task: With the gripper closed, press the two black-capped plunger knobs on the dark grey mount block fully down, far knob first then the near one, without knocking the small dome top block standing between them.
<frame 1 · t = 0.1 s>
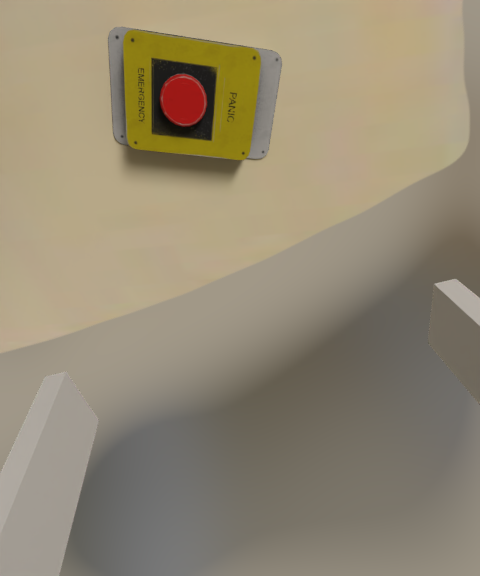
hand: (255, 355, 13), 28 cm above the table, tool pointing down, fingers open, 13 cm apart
emergency button: (195, 98, 34), on the table
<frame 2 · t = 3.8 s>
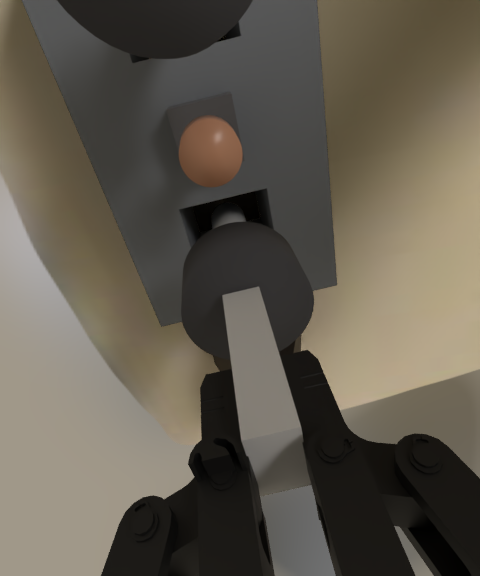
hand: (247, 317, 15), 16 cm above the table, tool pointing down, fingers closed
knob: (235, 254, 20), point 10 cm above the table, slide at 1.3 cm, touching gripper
phone stand: (255, 329, 36), on the table
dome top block: (206, 132, 18), point 8 cm above the table, touching mount
mount: (202, 112, 25), on the table
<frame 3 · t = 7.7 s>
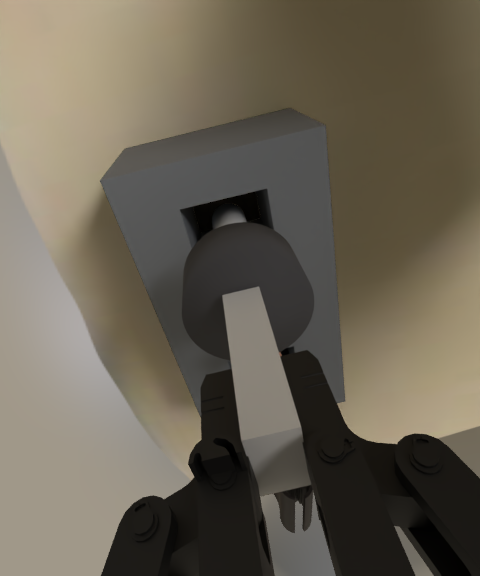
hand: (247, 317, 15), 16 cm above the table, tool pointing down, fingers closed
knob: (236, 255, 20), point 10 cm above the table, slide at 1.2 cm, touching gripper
phone stand: (273, 406, 42), on the table
mount: (239, 262, 31), on the table
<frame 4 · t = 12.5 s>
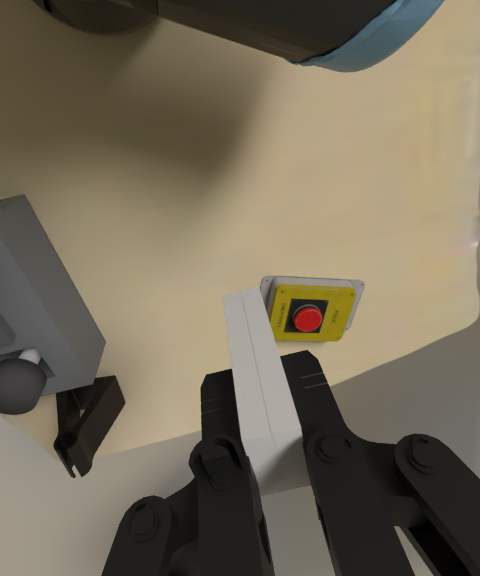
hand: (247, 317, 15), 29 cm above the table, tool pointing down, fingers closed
emergency button: (306, 302, 53), on the table
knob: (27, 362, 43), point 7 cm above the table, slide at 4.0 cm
phone stand: (92, 391, 57), on the table
mount: (24, 288, 45), on the table
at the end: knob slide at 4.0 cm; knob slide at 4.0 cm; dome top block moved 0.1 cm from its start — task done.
